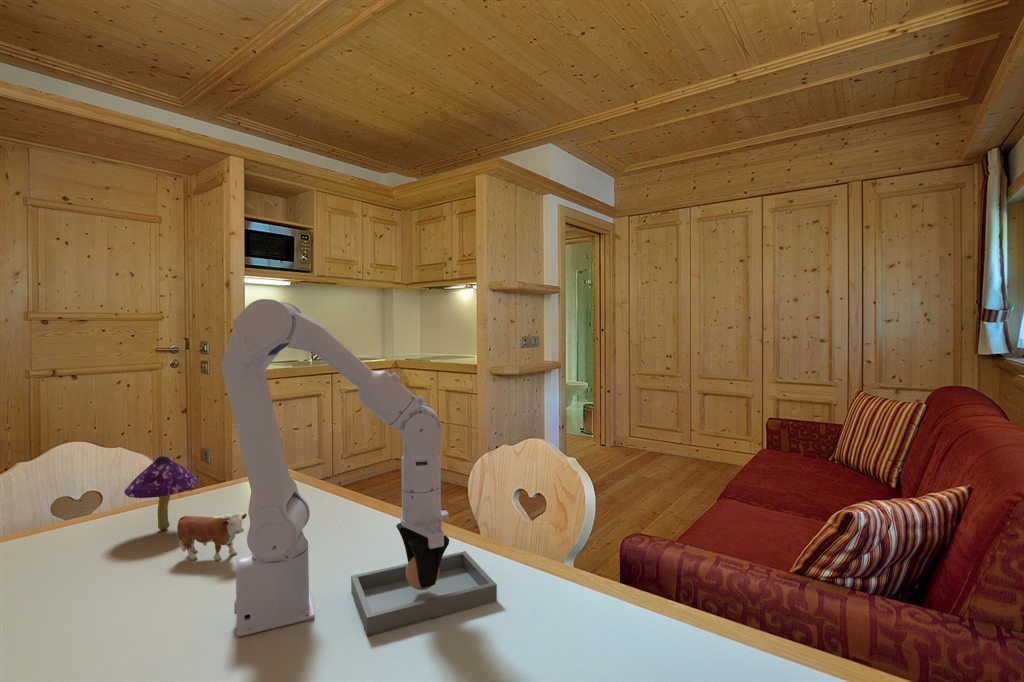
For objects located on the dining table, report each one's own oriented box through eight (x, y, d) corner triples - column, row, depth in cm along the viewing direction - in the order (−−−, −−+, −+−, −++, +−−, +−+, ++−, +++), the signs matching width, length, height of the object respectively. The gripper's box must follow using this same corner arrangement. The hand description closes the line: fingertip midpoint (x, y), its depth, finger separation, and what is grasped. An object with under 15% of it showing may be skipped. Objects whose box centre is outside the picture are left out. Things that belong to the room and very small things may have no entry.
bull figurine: (238, 566, 86) (237, 518, 86) (171, 559, 89) (170, 513, 89) (256, 554, 90) (255, 509, 90) (191, 549, 93) (190, 504, 93)
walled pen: (367, 636, 66) (367, 617, 66) (351, 592, 77) (351, 575, 77) (496, 601, 74) (496, 584, 74) (465, 565, 86) (465, 551, 86)
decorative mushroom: (181, 540, 97) (179, 462, 96) (109, 544, 95) (107, 465, 95) (211, 516, 109) (209, 447, 109) (148, 519, 108) (146, 449, 107)
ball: (411, 599, 72) (410, 565, 72) (402, 584, 77) (401, 551, 77) (444, 591, 75) (444, 558, 75) (433, 576, 79) (433, 545, 79)
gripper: (464, 497, 71) (465, 593, 71) (432, 471, 84) (433, 552, 84) (414, 505, 68) (415, 605, 68) (389, 477, 81) (390, 561, 81)
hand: (422, 577), depth 76 cm, fingers closed on ball, 5 cm apart
